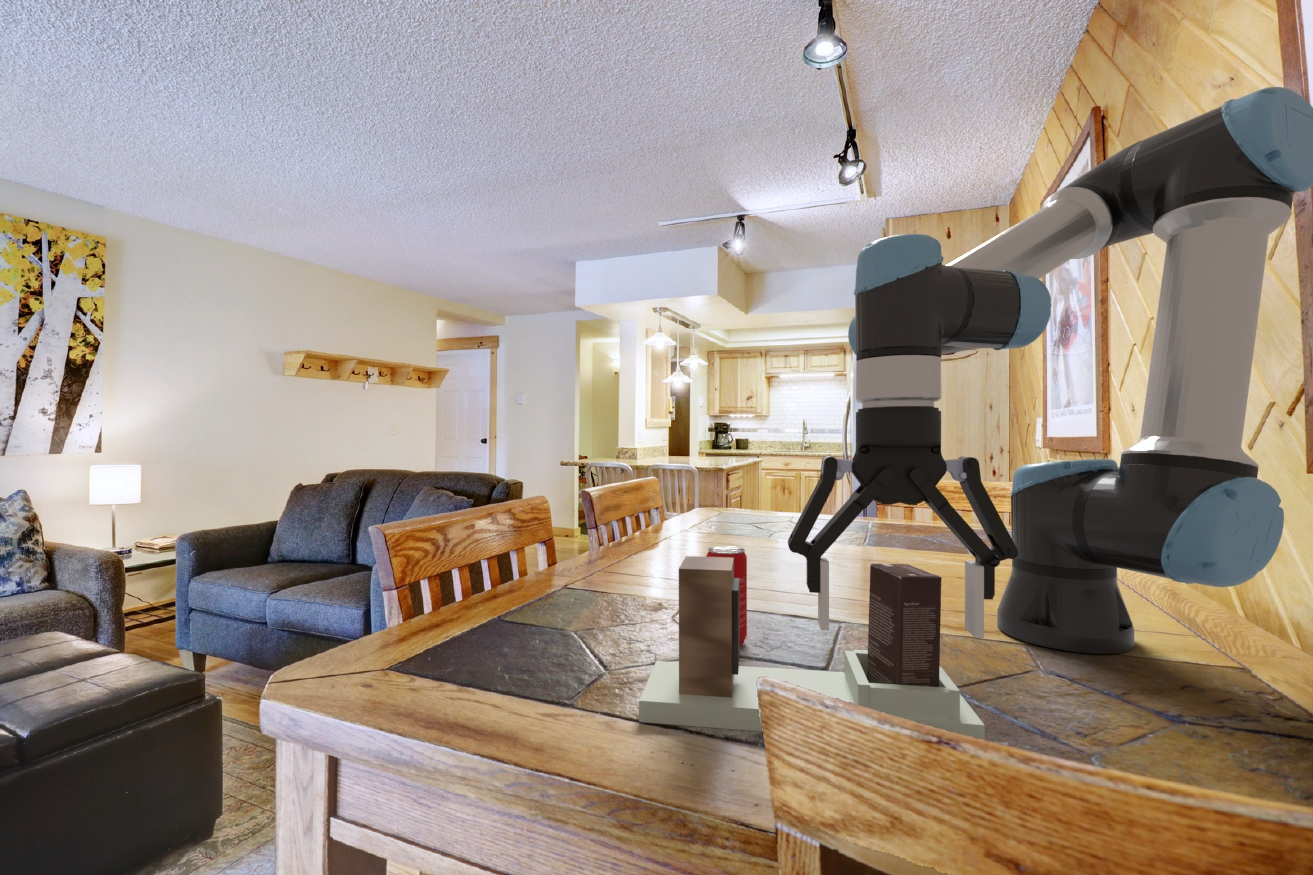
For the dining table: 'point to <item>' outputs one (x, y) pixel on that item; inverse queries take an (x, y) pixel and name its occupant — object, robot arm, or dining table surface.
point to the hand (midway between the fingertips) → (897, 629)
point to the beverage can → (739, 572)
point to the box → (904, 626)
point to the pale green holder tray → (851, 686)
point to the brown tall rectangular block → (708, 626)
